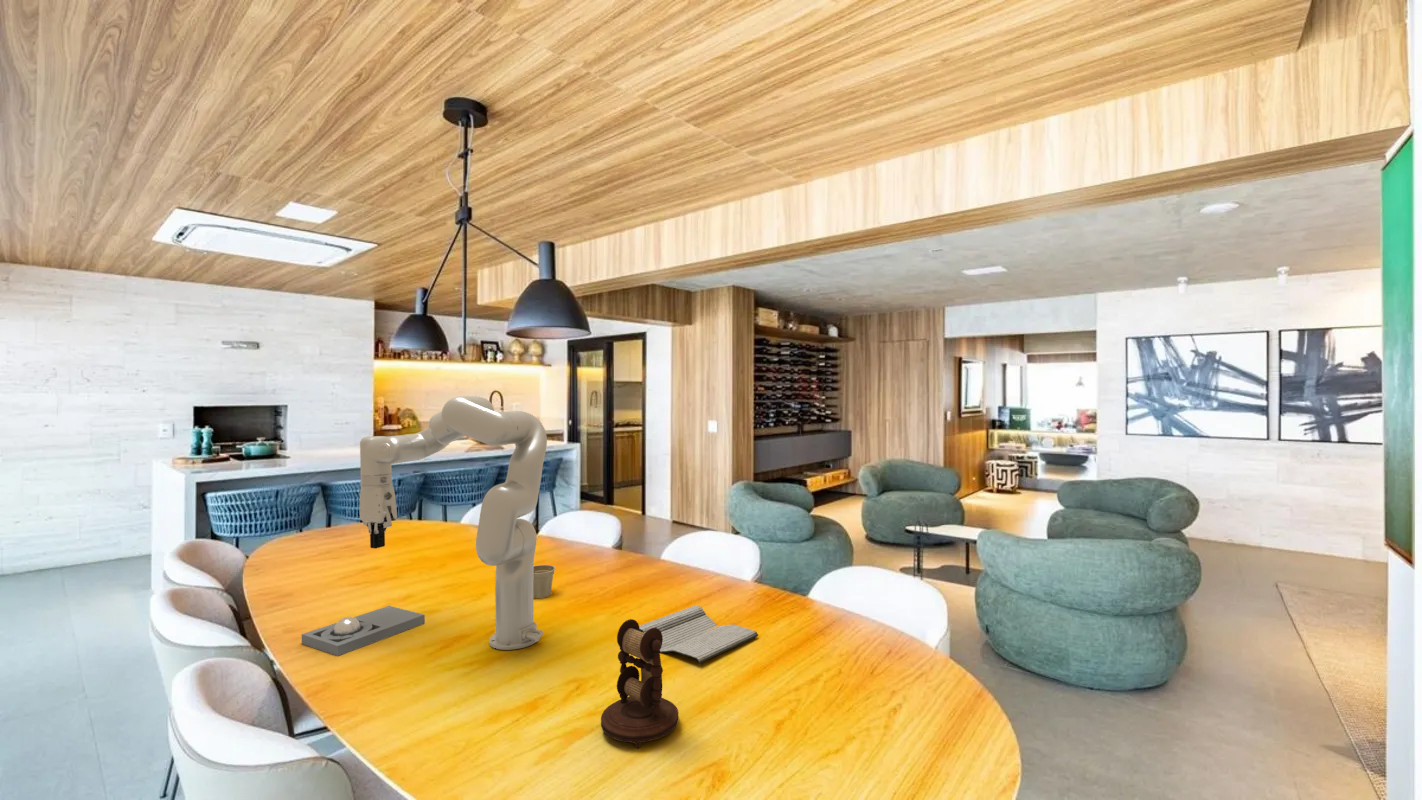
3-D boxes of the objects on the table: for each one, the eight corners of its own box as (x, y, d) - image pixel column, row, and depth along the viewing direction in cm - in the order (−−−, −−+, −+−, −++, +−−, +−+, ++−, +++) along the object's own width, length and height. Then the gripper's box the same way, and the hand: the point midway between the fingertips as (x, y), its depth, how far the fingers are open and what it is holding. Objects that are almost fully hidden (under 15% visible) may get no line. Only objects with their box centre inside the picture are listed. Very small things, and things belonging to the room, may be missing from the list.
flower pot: (537, 602, 186) (537, 574, 186) (519, 596, 191) (519, 569, 191) (561, 594, 193) (561, 567, 193) (543, 589, 199) (543, 563, 199)
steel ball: (327, 643, 154) (336, 635, 160) (352, 645, 155) (360, 637, 161) (332, 620, 154) (341, 612, 160) (357, 622, 155) (365, 615, 161)
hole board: (424, 623, 169) (424, 614, 169) (337, 656, 148) (337, 645, 148) (389, 614, 176) (389, 605, 176) (301, 643, 155) (301, 634, 155)
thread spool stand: (694, 725, 115) (693, 622, 115) (636, 760, 104) (635, 646, 104) (643, 700, 125) (642, 605, 125) (585, 730, 114) (584, 625, 114)
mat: (699, 671, 140) (699, 650, 140) (632, 644, 155) (632, 626, 155) (758, 640, 157) (758, 622, 157) (693, 619, 172) (692, 602, 172)
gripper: (406, 480, 165) (407, 546, 165) (372, 478, 172) (373, 541, 172) (381, 484, 159) (382, 553, 159) (346, 481, 165) (347, 547, 165)
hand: (377, 547), depth 165 cm, fingers closed
